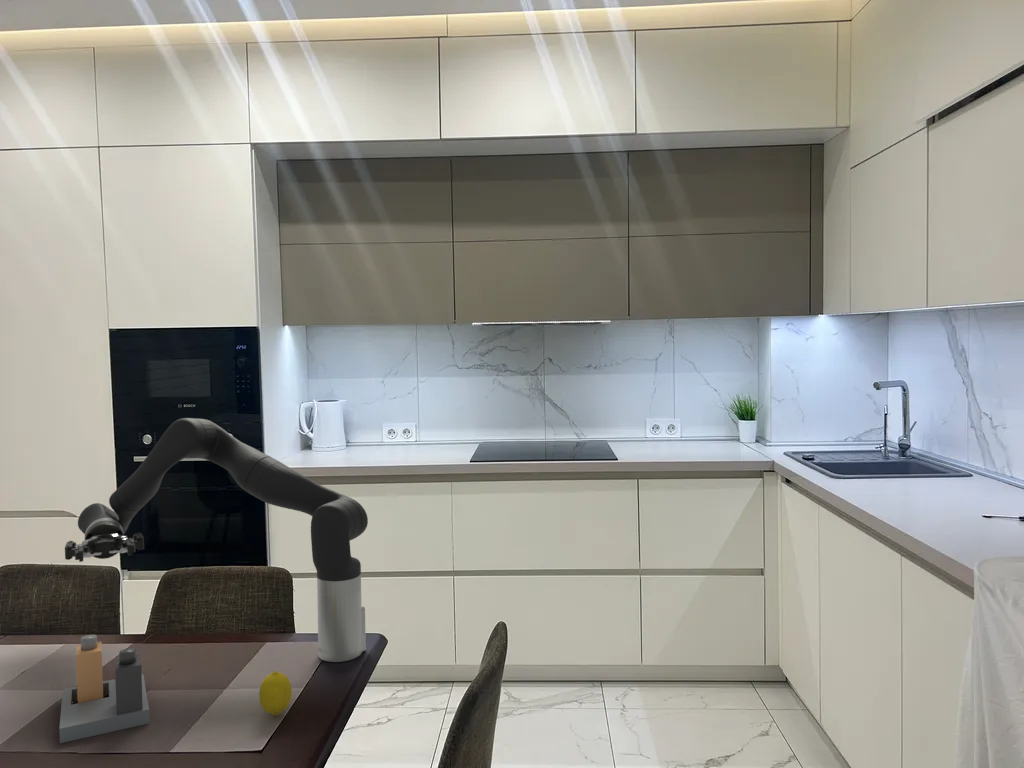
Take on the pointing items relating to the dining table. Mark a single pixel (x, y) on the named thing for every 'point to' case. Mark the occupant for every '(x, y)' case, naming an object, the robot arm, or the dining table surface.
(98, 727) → the gray post stand
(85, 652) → the plug
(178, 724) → the dining table surface
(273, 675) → the lemon
